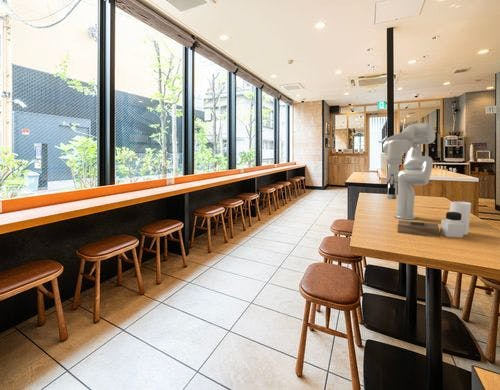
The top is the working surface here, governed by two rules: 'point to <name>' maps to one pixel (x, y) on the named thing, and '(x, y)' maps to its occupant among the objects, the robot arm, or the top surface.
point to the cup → (462, 212)
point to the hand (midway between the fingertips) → (392, 193)
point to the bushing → (392, 195)
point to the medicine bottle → (452, 225)
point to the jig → (418, 228)
